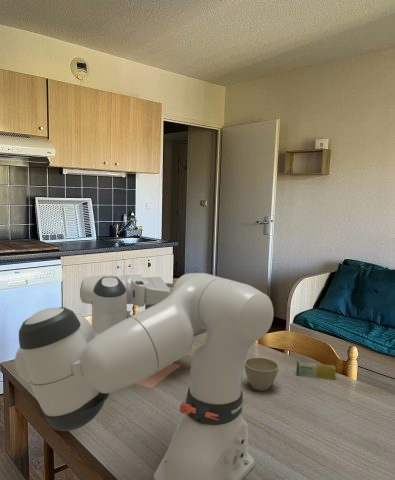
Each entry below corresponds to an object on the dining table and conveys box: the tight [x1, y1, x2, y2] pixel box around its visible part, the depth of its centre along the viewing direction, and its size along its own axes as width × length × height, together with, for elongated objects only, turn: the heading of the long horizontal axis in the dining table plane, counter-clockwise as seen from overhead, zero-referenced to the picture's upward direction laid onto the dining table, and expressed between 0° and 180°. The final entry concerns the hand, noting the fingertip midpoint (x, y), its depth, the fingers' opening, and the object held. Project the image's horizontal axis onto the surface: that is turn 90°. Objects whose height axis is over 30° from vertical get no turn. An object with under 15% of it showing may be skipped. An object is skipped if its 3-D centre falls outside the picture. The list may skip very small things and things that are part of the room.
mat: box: [134, 362, 182, 389], centre depth 125 cm, size 18×18×1 cm
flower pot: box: [244, 356, 279, 392], centre depth 117 cm, size 10×10×7 cm
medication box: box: [295, 361, 337, 381], centre depth 126 cm, size 12×3×4 cm, turn 81°
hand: (180, 288), depth 124 cm, fingers closed on cover, 3 cm apart
